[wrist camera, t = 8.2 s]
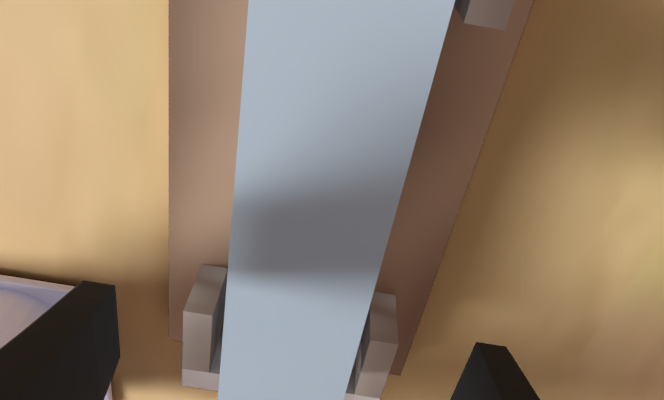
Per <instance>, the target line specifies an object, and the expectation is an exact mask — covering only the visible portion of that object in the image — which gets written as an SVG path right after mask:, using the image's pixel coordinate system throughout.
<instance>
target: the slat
mask: <svg viewBox="0 0 664 400" xmlns="http://www.w3.org/2000/svg"><path fill="white" fill-rule="evenodd" d="M454 3H455V0H249V2H248V15H247V28H246V41H245V54H244V66H243V79H242V92H241V105H240V118H239V131H238V144H237V157H236V170H235V183H234V196H233V208H232V221H231V234H230V247H229V260H228V273H227V286H226V299H225V312H224V325H223V337H222V350H221V363H220V376H219V389H218V400H344V397H345V393H346V389H347V386H348V382H349V379H350V375H351V372H352V368H353V364H354V361H355V357H356V354H357V350H358V346H359V343H360V339H361V336H362V332H363V329H364V325H365V321H366V318H367V314H368V311H369V307H370V304H371V300H372V296H373V293H374V289H375V286H376V282H377V278H378V275H379V271H380V268H381V264H382V261H383V257H384V253H385V250H386V246H387V243H388V239H389V236H390V232H391V228H392V225H393V221H394V218H395V214H396V211H397V207H398V203H399V200H400V196H401V193H402V189H403V185H404V182H405V178H406V175H407V171H408V168H409V164H410V160H411V157H412V153H413V150H414V146H415V143H416V139H417V135H418V132H419V128H420V125H421V121H422V117H423V114H424V110H425V107H426V103H427V100H428V96H429V92H430V89H431V85H432V82H433V78H434V75H435V71H436V67H437V64H438V60H439V57H440V53H441V49H442V46H443V42H444V39H445V35H446V32H447V28H448V24H449V21H450V17H451V14H452V10H453V7H454Z"/></svg>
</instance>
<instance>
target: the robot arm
mask: <svg viewBox="0 0 664 400" xmlns="http://www.w3.org/2000/svg"><path fill="white" fill-rule="evenodd" d="M119 358H120V347H119V333H118V320H117V306H116V292H115V286H114V285H108V284H102V283H95V282H89V281H82V282H81V283H79V284H78V285H77V286H70V285H63V284H57V283H50V282H44V281H38V280H31V279H25V278H19V277H12V276H6V275H0V400H112V390H111V380H112V377H113V375H114V372H115V369H116V366H117V364H118V361H119ZM450 400H540V399H539V397H538V396H537V394H536V393H535V391H534V390H533V388H532V386H531V385H530V383H529V382H528V380H527V379H526V377H525V375H524V374H523V372H522V371H521V369H520V368H519V366H518V365H517V363H516V361H515V360H514V358H513V357H512V355H511V354H510V352H509V351H508V349H507V348H506V347H504V346H498V345H491V344H485V343H478V342H476V344H475V346H474V348H473V351H472V353H471V355H470V357H469V359H468V362H467V364H466V366H465V368H464V371H463V373H462V375H461V377H460V379H459V382H458V384H457V386H456V388H455V391H454V393H453V395H452V397H451V399H450Z"/></svg>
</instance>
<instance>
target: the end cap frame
mask: <svg viewBox="0 0 664 400" xmlns="http://www.w3.org/2000/svg"><path fill="white" fill-rule="evenodd" d="M248 2H249V0H169V340H173V341H179V342H183V347H182V386H187V387H193V388H200V389H207V390H213V391H218V389H219V376H220V363H221V350H222V337H223V325H224V312H225V299H226V286H227V273H228V260H229V247H230V234H231V221H232V208H233V196H234V183H235V170H236V157H237V144H238V131H239V118H240V105H241V92H242V79H243V66H244V54H245V41H246V28H247V15H248ZM533 2H534V0H455V3H454V7H453V10H452V14H451V17H450V21H449V24H448V28H447V32H446V35H445V39H444V42H443V46H442V49H441V53H440V57H439V60H438V64H437V67H436V71H435V75H434V78H433V82H432V85H431V89H430V92H429V96H428V100H427V103H426V107H425V110H424V114H423V117H422V121H421V125H420V128H419V132H418V135H417V139H416V143H415V146H414V150H413V153H412V157H411V160H410V164H409V168H408V171H407V175H406V178H405V182H404V185H403V189H402V193H401V196H400V200H399V203H398V207H397V211H396V214H395V218H394V221H393V225H392V228H391V232H390V236H389V239H388V243H387V246H386V250H385V253H384V257H383V261H382V264H381V268H380V271H379V275H378V278H377V282H376V286H375V289H374V293H373V296H372V300H371V304H370V307H369V311H368V314H367V318H366V321H365V325H364V329H363V332H362V336H361V339H360V343H359V346H358V350H357V354H356V357H355V361H354V364H353V368H352V372H351V375H350V379H349V382H348V386H347V389H346V393H345V397H344V400H380V398H381V395H382V392H383V389H384V386H385V384H386V381H387V378H388V375H389V374H394V375H401V372H402V369H403V366H404V363H405V361H406V358H407V355H408V352H409V349H410V347H411V344H412V341H413V338H414V335H415V333H416V330H417V327H418V324H419V321H420V319H421V316H422V313H423V310H424V307H425V305H426V302H427V299H428V296H429V293H430V291H431V288H432V285H433V282H434V279H435V277H436V274H437V271H438V268H439V265H440V263H441V260H442V257H443V254H444V251H445V249H446V246H447V243H448V240H449V237H450V235H451V232H452V229H453V226H454V223H455V221H456V218H457V215H458V212H459V209H460V207H461V204H462V201H463V198H464V195H465V192H466V190H467V187H468V184H469V181H470V178H471V176H472V173H473V170H474V167H475V164H476V162H477V159H478V156H479V153H480V150H481V148H482V145H483V142H484V139H485V136H486V134H487V131H488V128H489V125H490V122H491V120H492V117H493V114H494V111H495V108H496V106H497V103H498V100H499V97H500V94H501V92H502V89H503V86H504V83H505V80H506V78H507V75H508V72H509V69H510V66H511V64H512V61H513V58H514V55H515V52H516V50H517V47H518V44H519V41H520V38H521V36H522V33H523V30H524V27H525V24H526V22H527V19H528V16H529V13H530V10H531V8H532V5H533Z"/></svg>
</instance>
